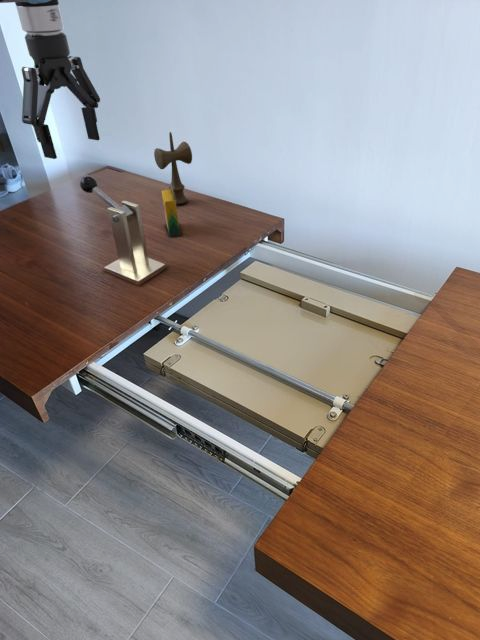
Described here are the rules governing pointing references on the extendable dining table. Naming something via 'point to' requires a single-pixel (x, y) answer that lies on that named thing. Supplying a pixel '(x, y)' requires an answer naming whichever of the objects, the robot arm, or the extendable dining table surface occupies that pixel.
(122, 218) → the switch bracket
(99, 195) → the lever
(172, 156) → the kendama
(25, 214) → the extendable dining table surface
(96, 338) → the extendable dining table surface
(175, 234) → the crayon box
